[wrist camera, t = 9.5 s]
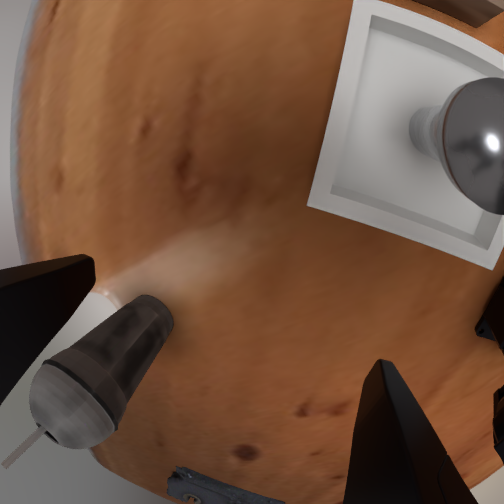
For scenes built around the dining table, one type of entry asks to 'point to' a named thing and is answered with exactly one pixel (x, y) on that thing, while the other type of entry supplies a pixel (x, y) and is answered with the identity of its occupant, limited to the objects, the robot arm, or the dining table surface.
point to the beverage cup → (96, 377)
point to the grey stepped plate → (210, 490)
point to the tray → (402, 132)
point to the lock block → (468, 9)
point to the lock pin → (467, 140)
